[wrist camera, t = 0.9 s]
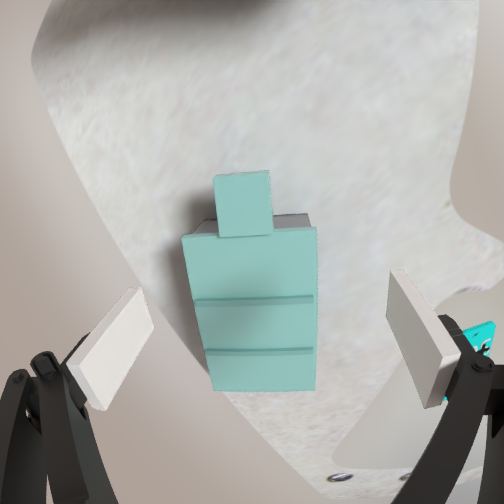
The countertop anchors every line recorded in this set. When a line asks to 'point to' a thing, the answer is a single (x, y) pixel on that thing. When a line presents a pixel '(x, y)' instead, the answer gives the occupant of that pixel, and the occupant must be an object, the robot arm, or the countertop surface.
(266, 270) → the lid
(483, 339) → the handheld gaming console
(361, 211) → the countertop surface
